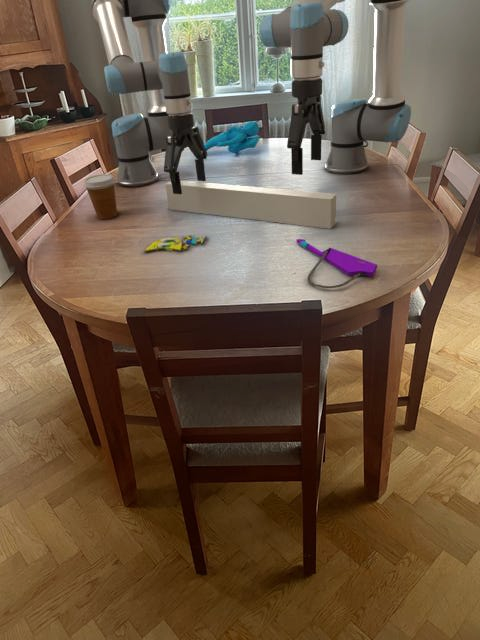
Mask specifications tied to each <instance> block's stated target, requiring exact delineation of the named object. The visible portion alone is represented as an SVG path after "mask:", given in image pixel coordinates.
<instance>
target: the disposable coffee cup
mask: <svg viewBox="0 0 480 640" xmlns="http://www.w3.org/2000/svg"><path fill="white" fill-rule="evenodd" d="M115 184H116V179H115V178H114V176H113V174H110V173H109V174H107V173H100V174H94V175H91V176H90V175H89V176H88V177H86V178H85V179H84V183H83V186H84V187H85V189H86V191H87V194H88V196H89V199H90V200H91V204H92V206H93V209H94V212H95V214H96V217H97V218H98V219H99V220H100V219H101V220H106V219H112V218H115V217H116V216H118V208H117V197H116V187H115Z"/></svg>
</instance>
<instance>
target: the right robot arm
mask: <svg viewBox="0 0 480 640" xmlns="http://www.w3.org/2000/svg"><path fill="white" fill-rule="evenodd" d="M345 1H346V0H294V1H293V2H292V3H290V4H289V5H288V6H287V7H285V9H283V10H282V11H281V12H279V13H277V14H275V13H272V14H268V15H265V16H264V17H263V18H262V19H261V22H260V24H259V31H258V32H259V38H260V41H261V44H262V45H263V46H264V47H265V48H268V49H276V50H277V49H285V48H286V49H287V48H290V77H291V78H292V81H290V82H291V85H290V87H291V88H290V89H291V97H292V98H296V99H297V104H291V116H290V122H289V123H290V124H289V128H288V129H289V130H288V138H287V143H286V148H287V149H290V151H291V152H290V153H291V175H297V176H302V175H303V174H304V172H303V171H304V168H303V167H304V163H303V162H304V160H303V159H304V158H303V156H304V155H303V153H304V152H303V150H304V149H303V147H302V144H303V140H304V136H305V131H306V129H307V128H306V127H307V124H308V125H309V127H310V130H311V133H312V134H311V135H310V160H311V161H321V160H322V135H325V134H326V127H325V120H324V114H323V107H322V94H323V79H322V78H321V77H322V76H323V67H325V62H324V61H323V60H324V58H323V57H324V47H328V46H331V47H333V46H335V45H337V44H339V43H341V42H342V41H343V40H344V39H345V38H346V37H347V35H348V33H349V26H350V25H349V19H348V16H347V14H346V13H344V11H343V10H340V9H336V8H333V7H334V6H336V4H340V3H343V2H345ZM410 1H411V0H369V5H370V6H371V7H372V8H373V9H374V37H373V38H374V39H373V40H374V41H373V42H374V43H373V45H374V47H373V84H372V87H373V88H372V96H371V97H370V98H369V99H368V102H367V99H366V98H365V97H364V98H363V97H359V98H352V99H347V100H342V101H339V102H336V103H334V104H333V105H332V107H331V113H330V146H329V147H330V148H329V151H328V154H327V156H326V160H325V161H324V170H325V171H327V172H329V173H331V174H337V175H338V174H339V175H350V174H351V175H352V174H358V173H362V172H364V171H366V170H367V169H368V159H367V155H366V151H365V148H367V147H368V146H369V142H380V143H381V142H382V143H399V142H400V141H401V140H402V139H403V138H404V136H405V134H406V133H407V130H408V128H409V125H410V121H411V116H412V109H411V108H412V107H411V106H410V105H409V104H406V96H404V94H403V93H402V75H403V60H404V59H403V57H404V42H405V41H404V40H405V24H406V23H405V22H406V6H407V4H408V3H409V2H410ZM368 141H369V142H368ZM364 143H365V145H364Z"/></svg>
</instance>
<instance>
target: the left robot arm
mask: <svg viewBox="0 0 480 640" xmlns="http://www.w3.org/2000/svg"><path fill="white" fill-rule="evenodd" d="M91 12H92V15H93V18H94V20H95V21H96V22H97V23H98V25H99V30H100V34H101V38H102V42H103V46H104V50H105V54H106V58H107V62H108V65H105V66H104V68H103V72H104V77H105V82H106V83H105V84H106V87H107V90H108V93H109V94H110V95H126V94H133V93H139V92H148V98H149V103H150V106H149V108H148V110H147V116H146V117H145V116H143V114H142V113H138V112H137V113H130V114H127V115H124V116H120V117H119V118H116V119H114V120H113V121H112V122H111V131H112V137H113V141H114V145H115V151H116V155H117V160H118V167H117V168H118V170H117V183H118V186H120V187H123V188H124V187H125V188H136V187H137V188H138V187H145V186H147V185H148V186H149V185H151V184H154V183H156V182H157V181H158V180H159V176H158V172H157V169H156V168H155V166H154V163H153V161H152V160H153V155H151V154H150V152H152V151H159V150H165V152H164V162H163V172H164V173H169V180H170V181H171V184H172V188H173V194H182V189H181V183H180V180H181V177H180V171H178V169H179V164H180V161H181V156H182V153H183V152H184V150H185V149H186V148H188V149H189V150H190V152H191V153H192V154H193V156H194V157H195V158H196V159H194V164H195V173H196V180H197V181H196V182H206V181H207V178H206V170H205V160H207V156H208V150H207V151H206V149H205V146H204V144H205V143H204V142H203V139H202V137H201V134H200V129H199V127H198V126H195V118H194V113H193V103H192V94H191V88H190V80H189V79H190V78H189V70H188V67H189V65H188V64H189V63H187V57H186V54H185V52H183V51H171V52H170V51H169V52H168V50H167V43H166V36H165V29H164V26H165V23H166V22H167V15H168V14H170V13H171V6H170V0H91ZM124 18H131V24H132V25H133V26H134V27H136V29H137V32H138V38H139V44H140V50H141V55H142V61H138V62H136V61H135V58H134V55H133V54H134V53H133V50H132V46H131V43H130V40H129V37H128V32H127V29H126V25H125V22H124Z"/></svg>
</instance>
